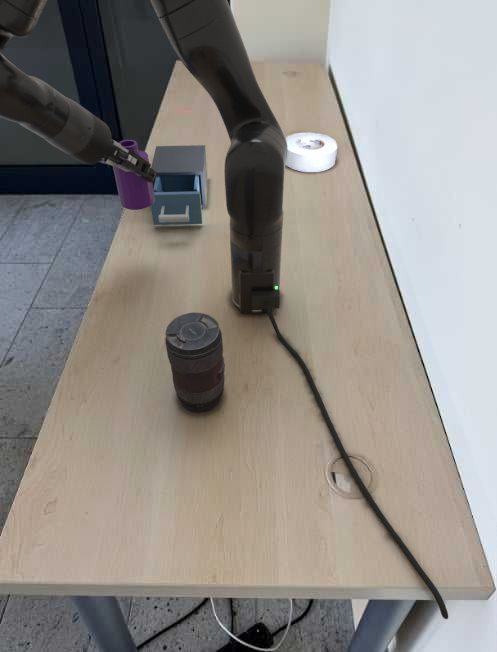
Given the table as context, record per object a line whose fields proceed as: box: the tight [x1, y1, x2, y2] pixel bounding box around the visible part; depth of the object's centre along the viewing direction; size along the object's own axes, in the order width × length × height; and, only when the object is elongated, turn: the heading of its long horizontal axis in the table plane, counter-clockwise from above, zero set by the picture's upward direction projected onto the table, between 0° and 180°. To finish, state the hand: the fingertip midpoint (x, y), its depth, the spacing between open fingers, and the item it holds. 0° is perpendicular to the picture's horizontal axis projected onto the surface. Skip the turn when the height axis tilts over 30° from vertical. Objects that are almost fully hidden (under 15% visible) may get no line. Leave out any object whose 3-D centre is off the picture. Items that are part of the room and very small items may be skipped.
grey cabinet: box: [150, 144, 209, 209], centre depth 122 cm, size 15×13×10 cm
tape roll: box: [285, 131, 338, 173], centre depth 138 cm, size 15×15×5 cm
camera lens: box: [164, 312, 226, 414], centre depth 73 cm, size 8×8×15 cm
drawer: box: [150, 175, 203, 226], centre depth 113 cm, size 20×11×8 cm, turn 2°
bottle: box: [112, 139, 155, 211], centre depth 91 cm, size 6×6×12 cm
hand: (139, 172), depth 92 cm, fingers closed on bottle, 6 cm apart
